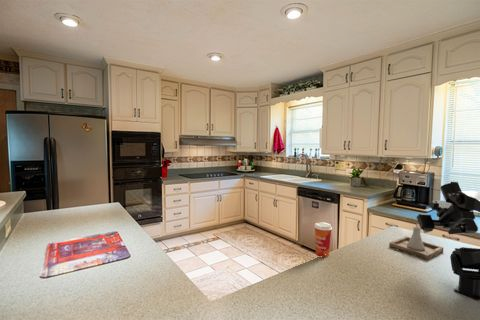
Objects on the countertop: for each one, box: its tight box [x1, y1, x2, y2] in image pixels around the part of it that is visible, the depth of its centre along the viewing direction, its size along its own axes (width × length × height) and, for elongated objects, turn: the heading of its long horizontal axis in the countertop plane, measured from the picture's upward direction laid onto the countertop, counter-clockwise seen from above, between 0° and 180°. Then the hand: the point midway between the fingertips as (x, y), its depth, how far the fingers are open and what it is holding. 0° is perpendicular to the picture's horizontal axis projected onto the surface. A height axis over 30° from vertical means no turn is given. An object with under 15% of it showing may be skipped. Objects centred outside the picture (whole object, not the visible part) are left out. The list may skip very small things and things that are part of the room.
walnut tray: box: [388, 235, 444, 261], centre depth 117 cm, size 16×16×2 cm
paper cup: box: [313, 221, 333, 258], centre depth 110 cm, size 8×8×14 cm
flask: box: [407, 225, 425, 251], centre depth 116 cm, size 7×7×10 cm
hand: (436, 232), depth 102 cm, fingers open, 9 cm apart
